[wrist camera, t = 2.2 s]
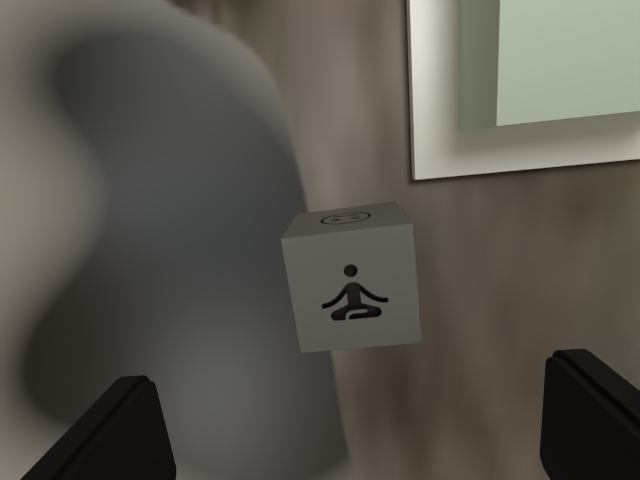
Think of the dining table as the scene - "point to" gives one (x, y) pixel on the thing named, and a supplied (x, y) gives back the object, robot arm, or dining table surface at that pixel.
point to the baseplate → (498, 142)
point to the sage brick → (547, 60)
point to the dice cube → (353, 278)
